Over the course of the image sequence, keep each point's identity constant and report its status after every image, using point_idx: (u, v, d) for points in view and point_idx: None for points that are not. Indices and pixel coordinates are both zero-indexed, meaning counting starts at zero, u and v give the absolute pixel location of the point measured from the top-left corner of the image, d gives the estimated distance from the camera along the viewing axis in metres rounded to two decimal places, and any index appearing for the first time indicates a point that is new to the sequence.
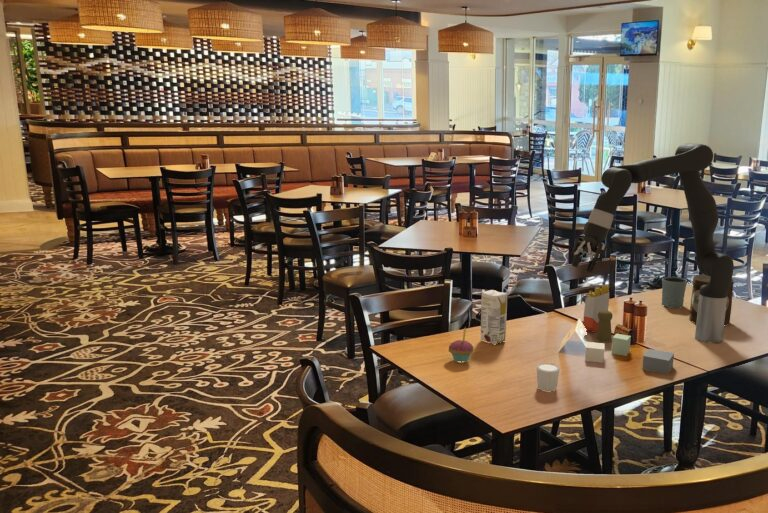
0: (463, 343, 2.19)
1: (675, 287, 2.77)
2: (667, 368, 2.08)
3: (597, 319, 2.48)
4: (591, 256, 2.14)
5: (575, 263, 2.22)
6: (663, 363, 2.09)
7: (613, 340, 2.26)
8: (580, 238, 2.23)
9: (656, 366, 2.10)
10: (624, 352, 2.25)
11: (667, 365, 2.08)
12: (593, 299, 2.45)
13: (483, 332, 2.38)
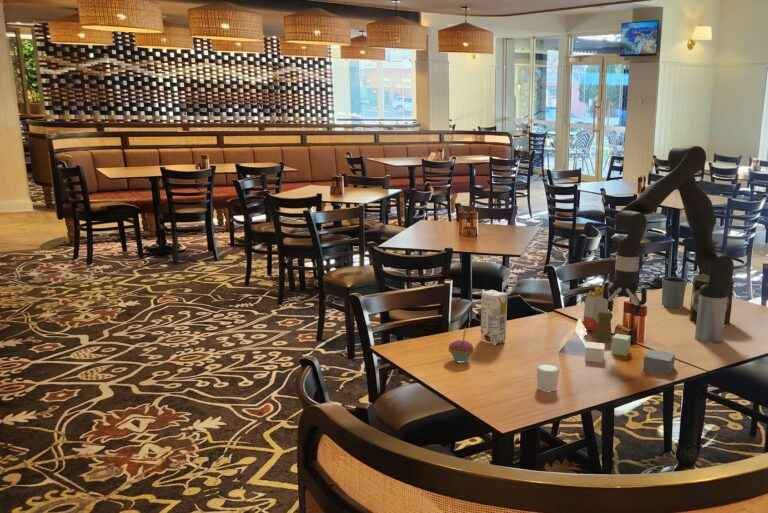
0: (463, 343, 2.19)
1: (675, 287, 2.77)
2: (668, 369, 2.08)
3: (597, 319, 2.48)
4: (636, 301, 2.21)
5: (611, 308, 2.27)
6: (664, 363, 2.08)
7: (613, 340, 2.26)
8: (608, 284, 2.25)
9: (657, 367, 2.09)
10: (624, 352, 2.25)
11: (668, 366, 2.07)
12: (593, 299, 2.45)
13: (483, 332, 2.38)
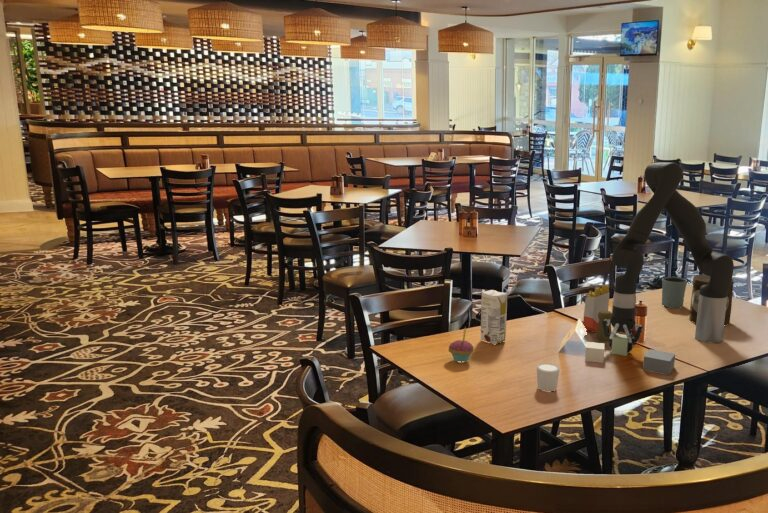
0: (463, 343, 2.19)
1: (675, 287, 2.77)
2: (668, 369, 2.08)
3: (597, 319, 2.48)
4: (629, 338, 2.24)
5: None
6: (664, 364, 2.08)
7: (613, 340, 2.26)
8: (605, 321, 2.28)
9: (657, 367, 2.10)
10: (624, 352, 2.25)
11: (668, 366, 2.07)
12: (593, 299, 2.45)
13: (483, 332, 2.38)
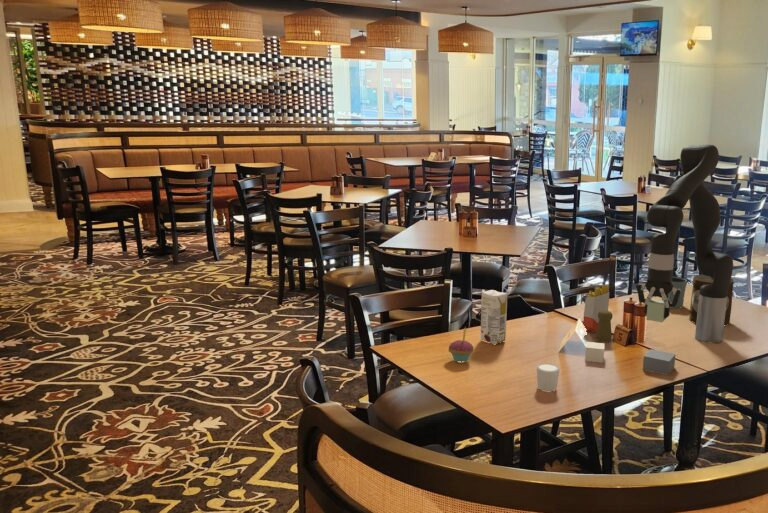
0: (463, 343, 2.19)
1: (675, 287, 2.77)
2: (667, 369, 2.08)
3: (597, 319, 2.48)
4: (667, 303, 2.08)
5: None
6: (663, 363, 2.08)
7: (648, 305, 2.10)
8: (640, 285, 2.12)
9: (657, 367, 2.10)
10: (660, 318, 2.09)
11: (667, 366, 2.07)
12: (593, 299, 2.45)
13: (483, 332, 2.38)
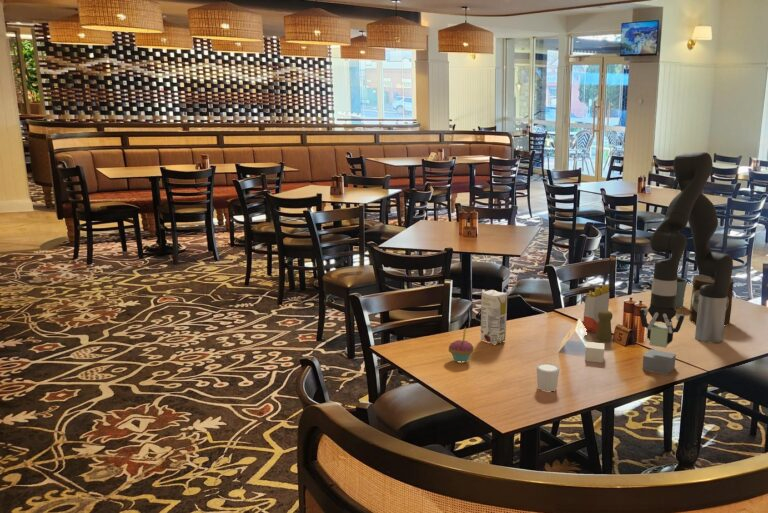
0: (463, 343, 2.19)
1: None
2: (667, 369, 2.08)
3: (597, 319, 2.48)
4: (670, 328, 2.08)
5: None
6: (663, 363, 2.08)
7: (652, 330, 2.10)
8: (643, 310, 2.12)
9: (656, 367, 2.10)
10: (664, 343, 2.09)
11: (667, 366, 2.07)
12: (593, 299, 2.45)
13: (483, 332, 2.38)
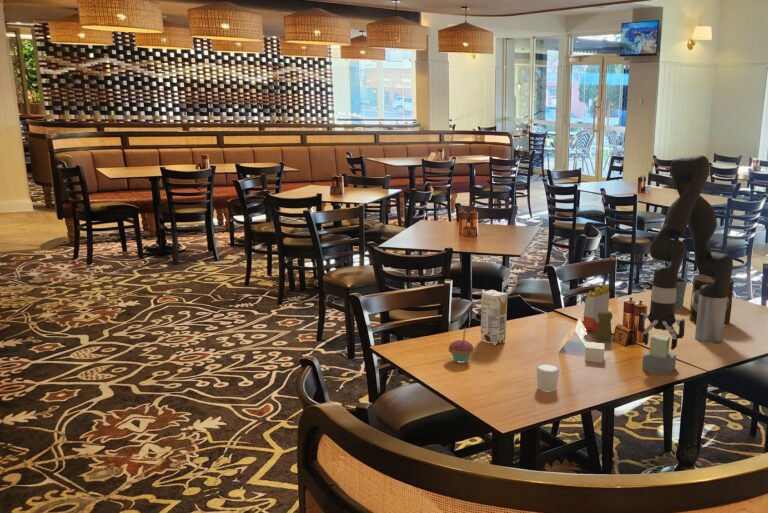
0: (463, 343, 2.19)
1: None
2: (666, 369, 2.08)
3: (597, 319, 2.48)
4: (673, 334, 2.08)
5: (647, 341, 2.14)
6: (663, 364, 2.08)
7: (651, 341, 2.11)
8: (643, 316, 2.13)
9: (656, 367, 2.10)
10: (663, 354, 2.10)
11: (666, 366, 2.07)
12: (593, 299, 2.45)
13: (483, 332, 2.38)
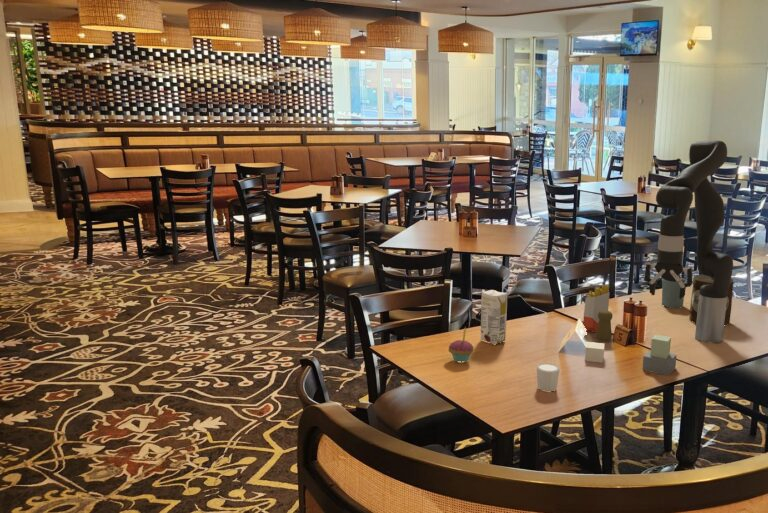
0: (463, 343, 2.19)
1: (675, 287, 2.77)
2: (666, 369, 2.07)
3: (597, 319, 2.48)
4: (681, 283, 2.06)
5: (654, 291, 2.12)
6: (663, 364, 2.08)
7: (652, 341, 2.10)
8: (650, 265, 2.10)
9: (656, 367, 2.10)
10: (664, 354, 2.09)
11: (666, 366, 2.07)
12: (593, 299, 2.45)
13: (483, 332, 2.38)
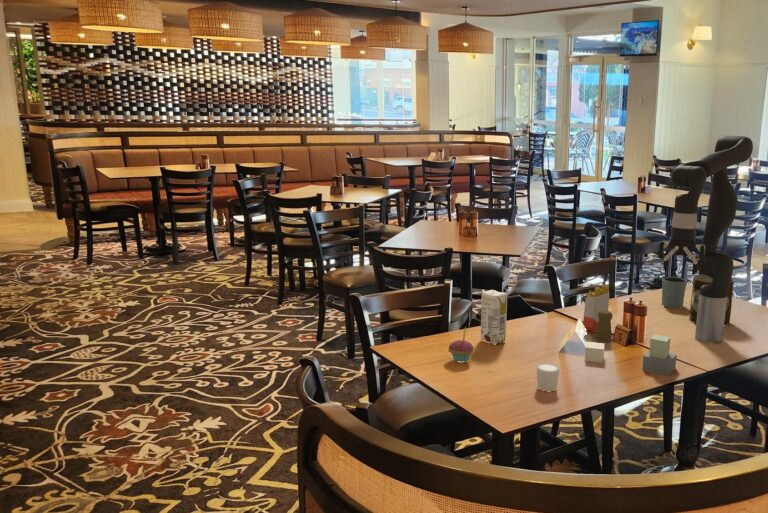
0: (463, 343, 2.19)
1: (675, 287, 2.77)
2: (666, 369, 2.07)
3: (597, 319, 2.48)
4: (694, 259, 2.13)
5: (667, 268, 2.19)
6: (663, 364, 2.08)
7: (651, 341, 2.10)
8: (664, 243, 2.18)
9: (656, 367, 2.10)
10: (663, 355, 2.09)
11: (666, 366, 2.07)
12: (593, 299, 2.45)
13: (483, 332, 2.38)
